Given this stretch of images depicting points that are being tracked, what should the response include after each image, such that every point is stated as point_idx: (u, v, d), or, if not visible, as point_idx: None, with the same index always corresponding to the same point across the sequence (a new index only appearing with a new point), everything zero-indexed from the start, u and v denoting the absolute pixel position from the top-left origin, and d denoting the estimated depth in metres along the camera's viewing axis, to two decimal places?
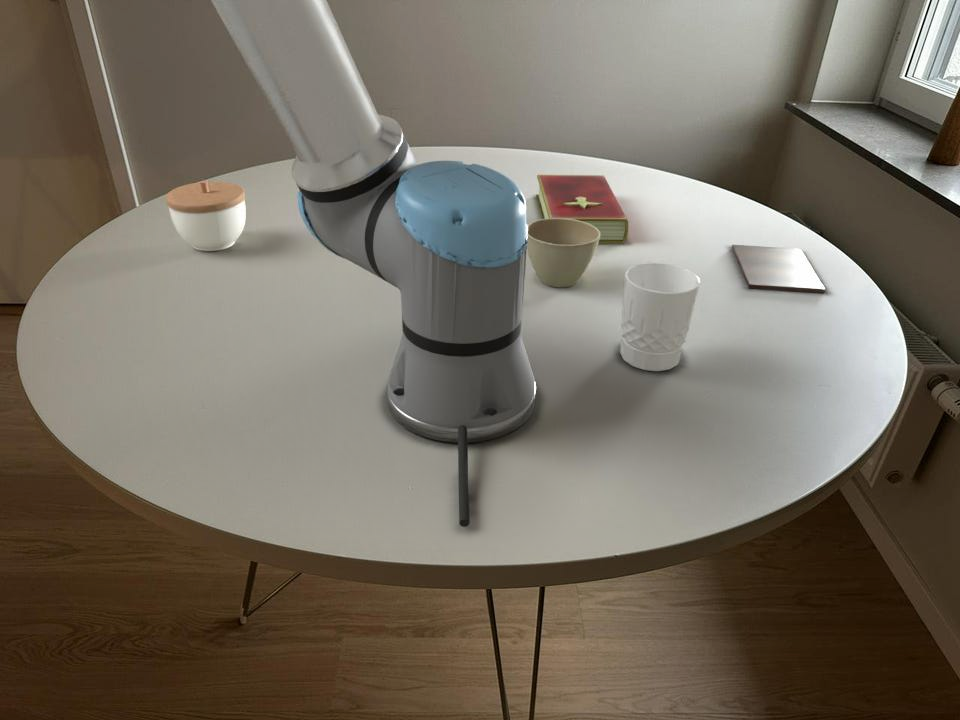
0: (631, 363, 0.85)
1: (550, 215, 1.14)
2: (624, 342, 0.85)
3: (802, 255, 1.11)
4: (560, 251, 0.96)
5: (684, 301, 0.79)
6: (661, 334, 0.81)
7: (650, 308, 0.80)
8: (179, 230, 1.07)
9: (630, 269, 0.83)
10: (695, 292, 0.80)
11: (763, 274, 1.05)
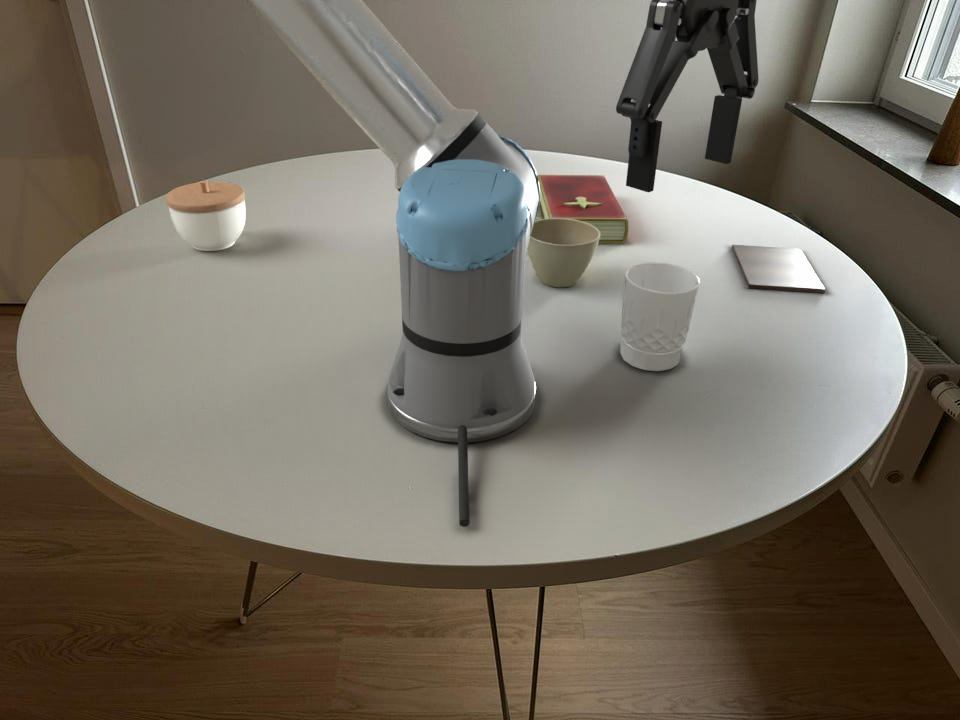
0: (631, 363, 0.85)
1: (550, 215, 1.14)
2: (624, 342, 0.85)
3: (802, 255, 1.11)
4: (560, 251, 0.96)
5: (684, 301, 0.79)
6: (661, 334, 0.81)
7: (650, 308, 0.80)
8: (180, 230, 1.07)
9: (630, 269, 0.83)
10: (695, 292, 0.80)
11: (763, 274, 1.05)
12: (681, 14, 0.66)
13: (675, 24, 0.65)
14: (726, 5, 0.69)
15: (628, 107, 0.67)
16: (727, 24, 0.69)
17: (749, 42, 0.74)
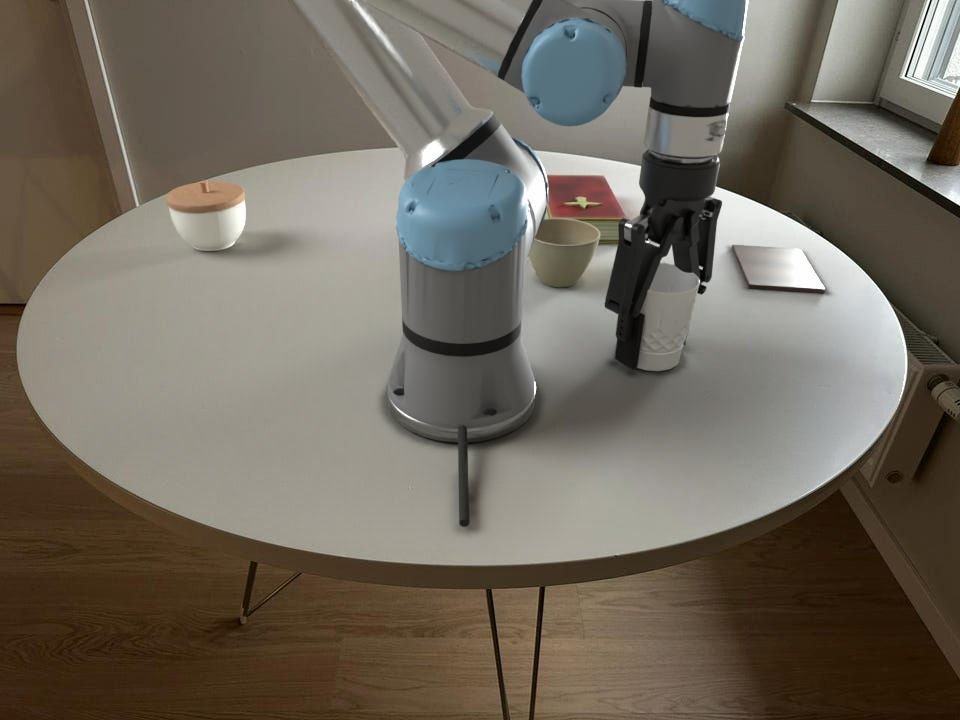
0: None
1: (550, 215, 1.14)
2: None
3: (802, 255, 1.11)
4: (560, 251, 0.96)
5: (684, 301, 0.79)
6: (661, 334, 0.81)
7: (650, 308, 0.80)
8: (180, 230, 1.07)
9: None
10: (695, 292, 0.80)
11: (763, 274, 1.05)
12: (648, 224, 0.75)
13: (642, 241, 0.75)
14: (692, 208, 0.78)
15: (613, 308, 0.78)
16: (690, 224, 0.78)
17: (708, 241, 0.82)
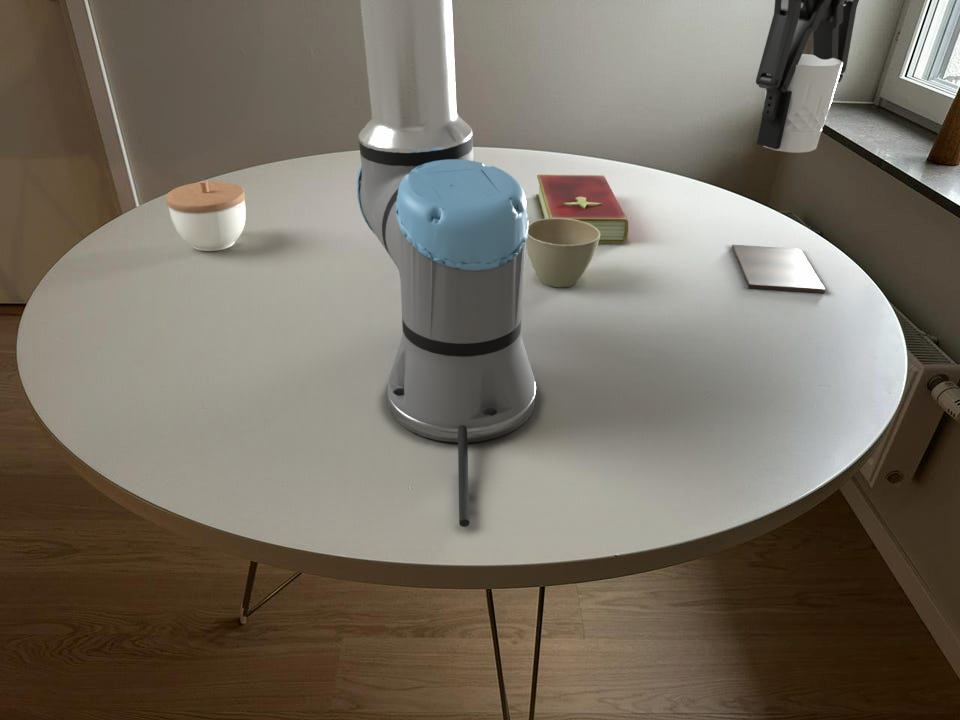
0: None
1: (550, 215, 1.14)
2: None
3: (802, 255, 1.11)
4: (560, 251, 0.96)
5: (830, 76, 0.86)
6: (806, 111, 0.88)
7: (798, 84, 0.86)
8: (180, 230, 1.07)
9: None
10: (839, 69, 0.87)
11: (763, 274, 1.05)
12: None
13: (798, 9, 0.81)
14: None
15: (766, 81, 0.85)
16: (838, 0, 0.84)
17: (847, 28, 0.89)
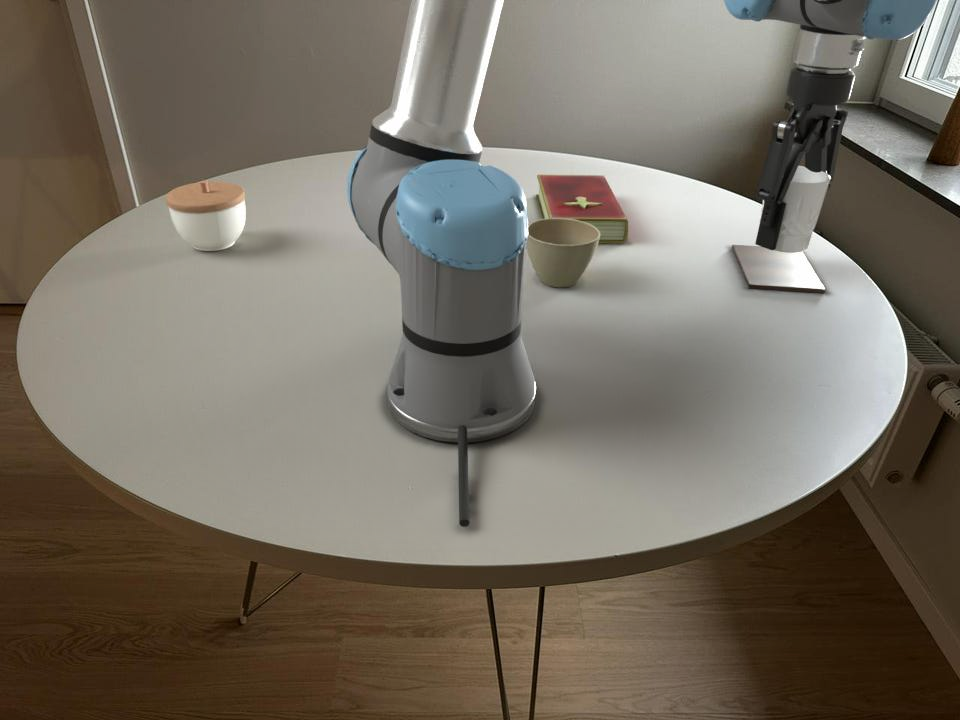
0: None
1: (550, 215, 1.14)
2: None
3: (802, 255, 1.11)
4: (560, 251, 0.96)
5: (820, 191, 0.99)
6: (799, 219, 1.00)
7: (792, 197, 0.99)
8: (180, 230, 1.07)
9: None
10: (828, 184, 0.99)
11: (763, 274, 1.05)
12: (796, 125, 0.95)
13: (792, 138, 0.94)
14: (827, 114, 0.97)
15: (764, 195, 0.98)
16: (826, 127, 0.97)
17: (835, 146, 1.02)
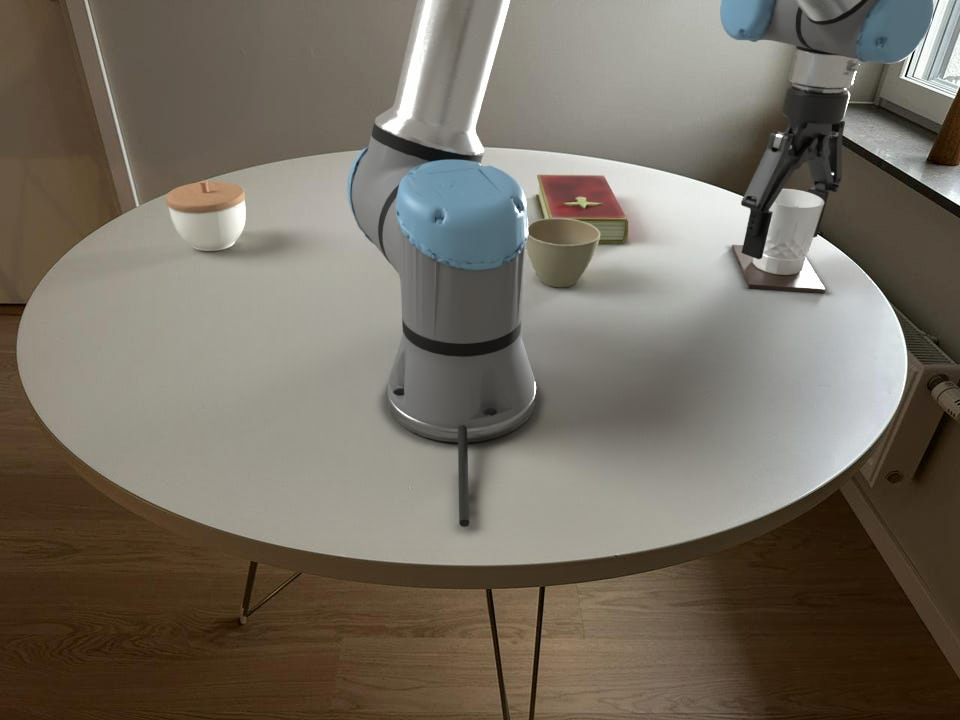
0: (764, 269, 1.06)
1: (550, 215, 1.14)
2: None
3: None
4: (560, 251, 0.96)
5: (813, 215, 1.00)
6: (793, 243, 1.02)
7: (786, 221, 1.01)
8: (180, 230, 1.07)
9: None
10: (821, 208, 1.01)
11: (763, 274, 1.05)
12: (791, 141, 0.96)
13: (787, 149, 0.94)
14: (822, 133, 0.98)
15: (750, 203, 0.96)
16: (822, 145, 0.98)
17: (837, 154, 1.03)
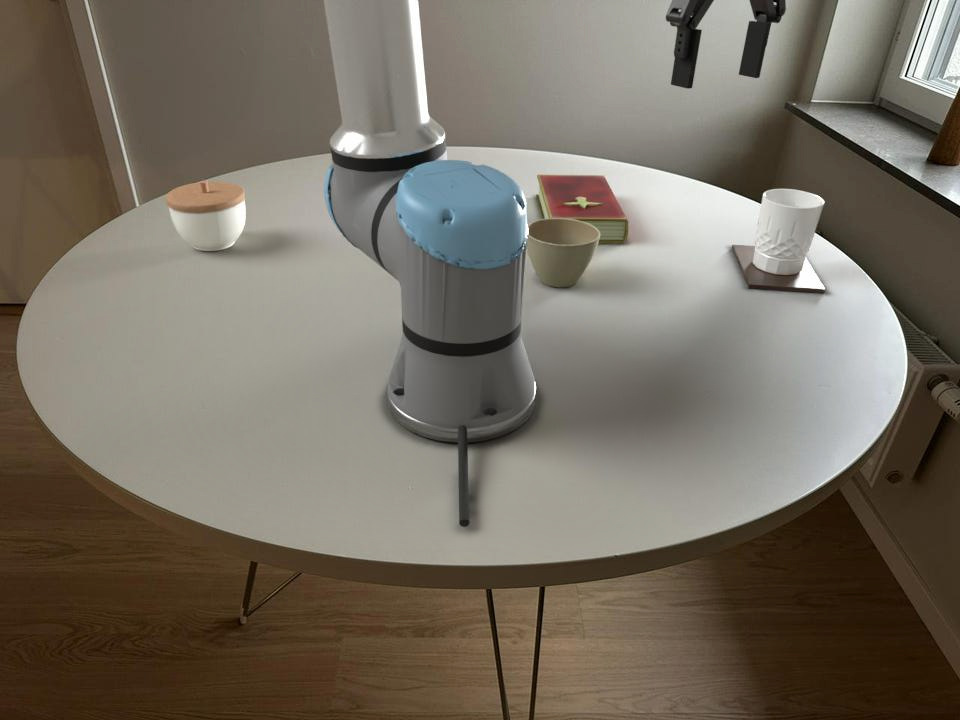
0: (764, 269, 1.06)
1: (550, 215, 1.14)
2: (758, 252, 1.06)
3: None
4: (560, 251, 0.96)
5: (813, 215, 1.00)
6: (793, 243, 1.02)
7: (786, 221, 1.01)
8: (179, 230, 1.07)
9: (765, 192, 1.04)
10: (821, 208, 1.01)
11: (763, 274, 1.05)
12: None
13: None
14: None
15: (675, 15, 0.86)
16: None
17: None
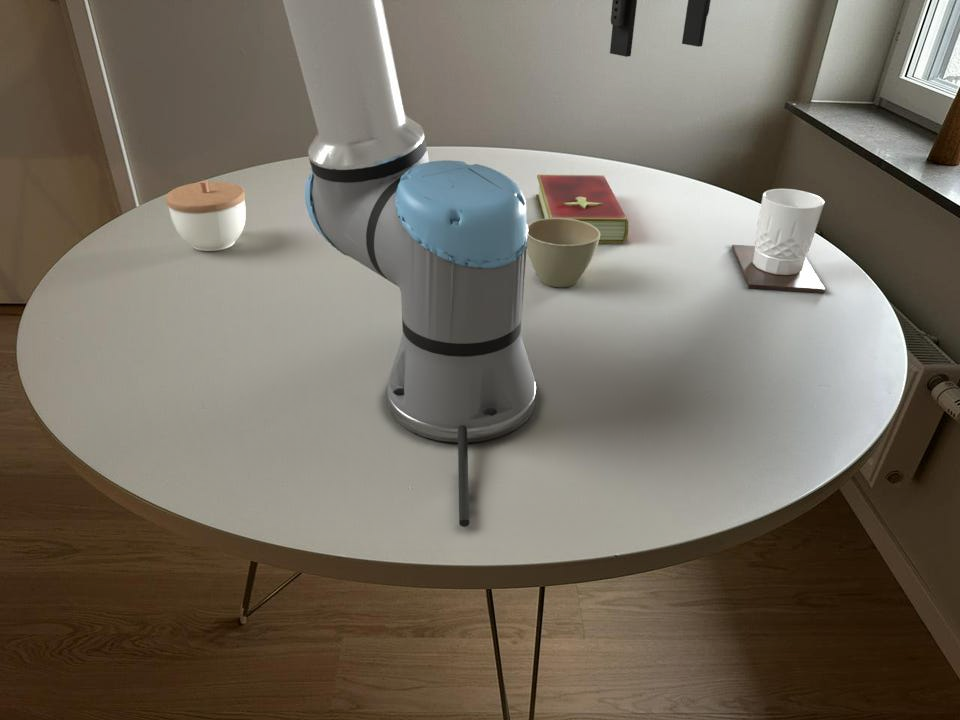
0: (764, 269, 1.06)
1: (550, 215, 1.14)
2: (758, 252, 1.06)
3: None
4: (560, 251, 0.96)
5: (813, 215, 1.00)
6: (793, 243, 1.02)
7: (786, 221, 1.01)
8: (180, 230, 1.07)
9: (765, 192, 1.04)
10: (821, 208, 1.01)
11: (763, 274, 1.05)
12: None
13: None
14: None
15: None
16: None
17: None
